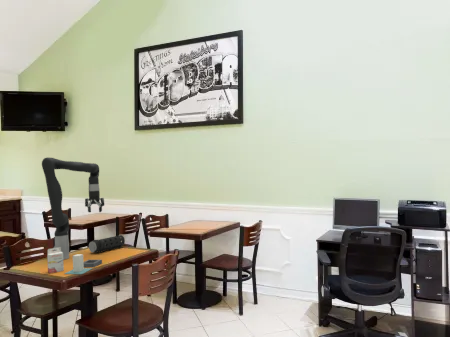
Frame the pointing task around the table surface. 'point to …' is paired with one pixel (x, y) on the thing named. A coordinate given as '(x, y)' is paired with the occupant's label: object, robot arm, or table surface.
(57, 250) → the ink cartridge box
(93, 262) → the dock
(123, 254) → the table surface
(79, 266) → the plug
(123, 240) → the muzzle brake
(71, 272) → the mat
